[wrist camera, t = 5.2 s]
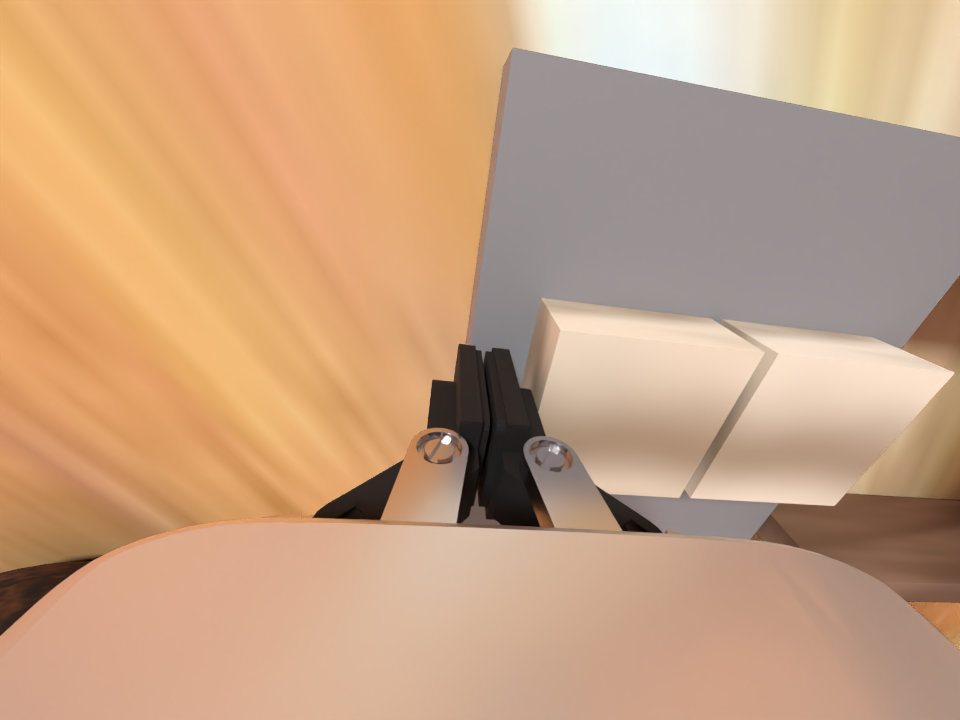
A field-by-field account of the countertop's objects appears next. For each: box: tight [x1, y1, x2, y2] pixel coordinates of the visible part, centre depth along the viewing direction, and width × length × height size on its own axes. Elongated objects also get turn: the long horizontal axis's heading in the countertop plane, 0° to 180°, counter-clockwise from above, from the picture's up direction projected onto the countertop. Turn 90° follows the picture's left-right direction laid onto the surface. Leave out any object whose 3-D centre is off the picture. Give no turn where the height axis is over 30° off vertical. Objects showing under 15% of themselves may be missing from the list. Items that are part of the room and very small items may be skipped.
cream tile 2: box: [684, 319, 955, 506], centre depth 13 cm, size 6×6×2 cm
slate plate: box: [462, 48, 960, 540], centre depth 15 cm, size 18×16×2 cm
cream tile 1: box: [520, 298, 765, 498], centre depth 12 cm, size 6×6×2 cm
